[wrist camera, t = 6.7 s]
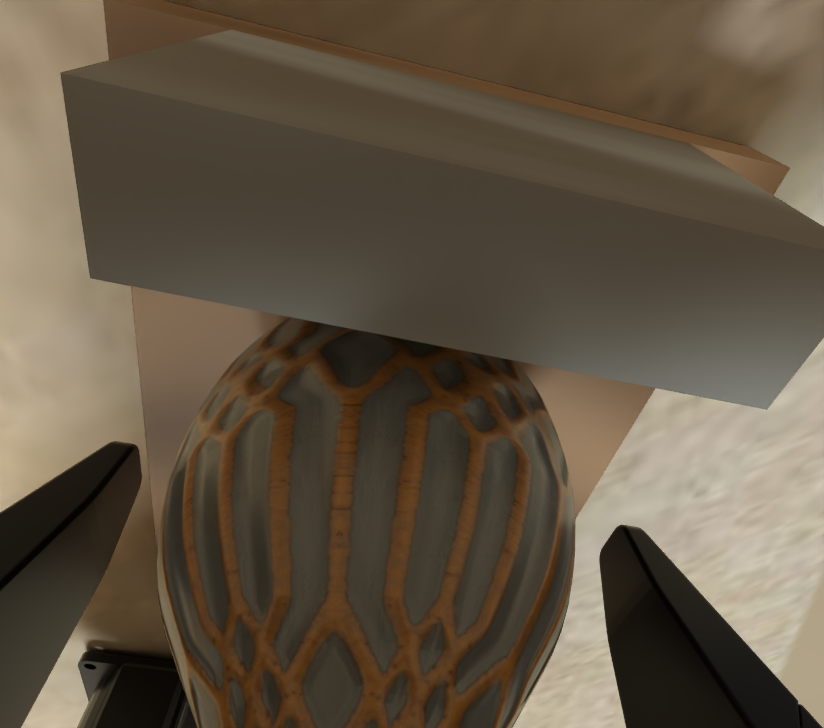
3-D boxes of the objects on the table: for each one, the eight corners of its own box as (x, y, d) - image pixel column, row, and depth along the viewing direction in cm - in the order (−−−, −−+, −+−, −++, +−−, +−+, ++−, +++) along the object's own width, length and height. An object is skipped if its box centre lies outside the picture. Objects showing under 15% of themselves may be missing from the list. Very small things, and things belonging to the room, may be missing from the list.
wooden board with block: (475, 639, 22) (490, 843, 17) (180, 599, 21) (97, 806, 16) (749, 147, 11) (1050, 301, 6) (143, -5, 10) (-193, 14, 4)
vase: (550, 236, 11) (798, 769, 3) (524, 479, 15) (616, 961, 7) (205, 249, 11) (-220, 753, 4) (273, 483, 15) (127, 945, 8)
